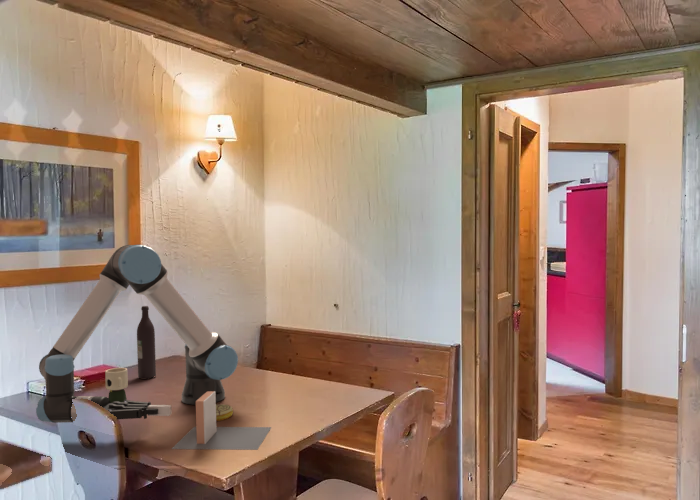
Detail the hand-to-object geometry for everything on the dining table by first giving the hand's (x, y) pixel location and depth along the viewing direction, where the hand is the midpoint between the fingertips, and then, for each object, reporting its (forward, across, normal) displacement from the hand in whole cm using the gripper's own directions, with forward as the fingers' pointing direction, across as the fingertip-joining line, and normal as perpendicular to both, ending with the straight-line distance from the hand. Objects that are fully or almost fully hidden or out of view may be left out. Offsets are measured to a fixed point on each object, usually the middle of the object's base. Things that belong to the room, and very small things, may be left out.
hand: (170, 410), depth 166 cm
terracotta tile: (+11, 0, -8) cm, 13 cm away
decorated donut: (+7, -19, -9) cm, 22 cm away
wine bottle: (-39, -72, -8) cm, 82 cm away
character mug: (-31, -31, -9) cm, 45 cm away
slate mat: (+16, 0, -8) cm, 18 cm away
